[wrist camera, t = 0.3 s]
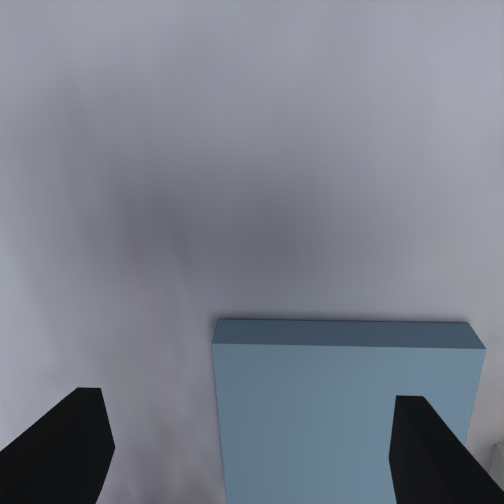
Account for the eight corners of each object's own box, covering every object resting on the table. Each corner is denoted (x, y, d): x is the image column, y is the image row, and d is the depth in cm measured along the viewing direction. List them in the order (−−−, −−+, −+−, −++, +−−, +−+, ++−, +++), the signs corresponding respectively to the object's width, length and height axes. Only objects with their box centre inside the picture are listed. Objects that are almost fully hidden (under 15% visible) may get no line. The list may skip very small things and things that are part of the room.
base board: (433, 494, 25) (444, 528, 23) (232, 483, 26) (227, 515, 24) (468, 323, 20) (486, 349, 18) (218, 319, 21) (211, 343, 19)
